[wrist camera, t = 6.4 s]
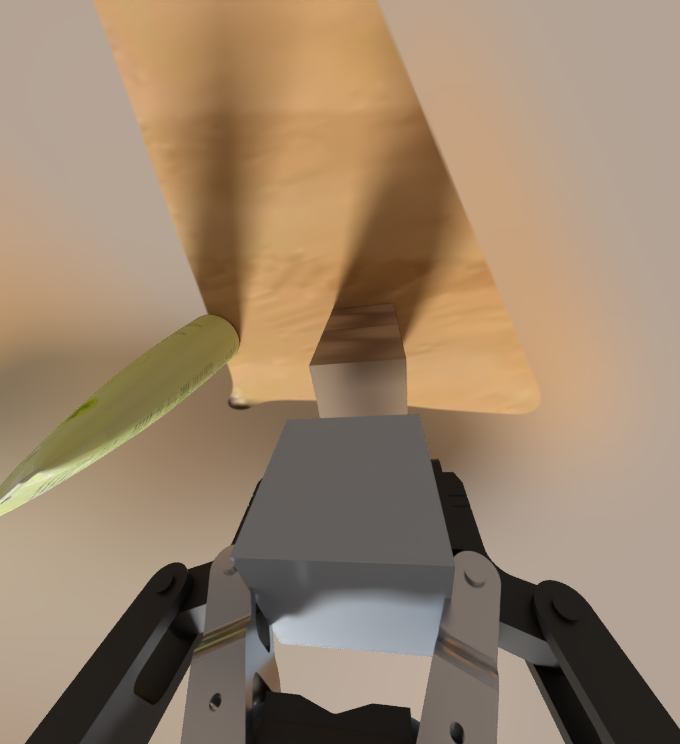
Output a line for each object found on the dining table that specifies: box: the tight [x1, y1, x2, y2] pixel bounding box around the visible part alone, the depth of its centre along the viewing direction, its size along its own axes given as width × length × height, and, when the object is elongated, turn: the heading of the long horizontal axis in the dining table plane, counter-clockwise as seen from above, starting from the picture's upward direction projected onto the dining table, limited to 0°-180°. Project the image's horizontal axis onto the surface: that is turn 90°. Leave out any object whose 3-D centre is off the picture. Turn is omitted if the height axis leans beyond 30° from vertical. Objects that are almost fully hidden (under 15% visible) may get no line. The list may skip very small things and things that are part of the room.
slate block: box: [230, 414, 455, 657], centre depth 10 cm, size 6×6×6 cm
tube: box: [0, 315, 239, 516], centre depth 20 cm, size 6×5×20 cm
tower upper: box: [309, 324, 407, 418], centre depth 19 cm, size 6×6×6 cm
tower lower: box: [324, 303, 399, 331], centre depth 24 cm, size 6×6×6 cm
